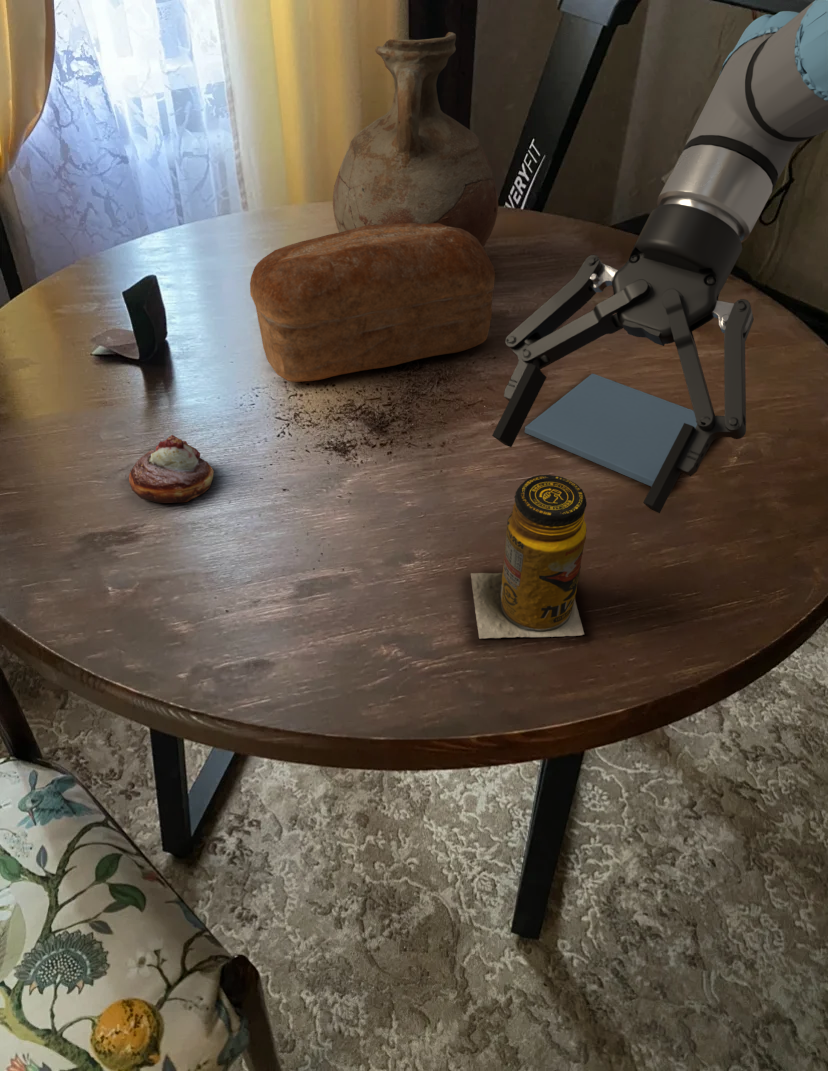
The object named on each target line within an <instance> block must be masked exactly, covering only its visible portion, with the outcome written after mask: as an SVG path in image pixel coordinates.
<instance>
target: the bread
mask: <svg viewBox="0 0 828 1071" xmlns="http://www.w3.org/2000/svg"><path fill="white" fill-rule="evenodd" d="M495 277H496V272H495V267H494V265H493V263H492V261H491V260H490V257H489V256H488V253H487V252H486V250H485V248H484V247H482V245H481V244H480V242H479V241H478V239H477V238H476V237H474V236H473V235H471V234H470V233H469V232H467V231H465V230H463V229H461V228H455V227H449V226H445V225H442V224H439V223H432V224H418V223H406V224H390V225H366V226H362V227H358V228H354V229H351V230H347V231H344V232H340V233H339V232H335V233H331V234H326V235H322V236H319V237H314V238H311V239H306V240H302V241H298V242H295V243H291V244H288V245H285V246H283V247H279V248H276V249H274V250H273V251H271V252H270V253H269V254H267V255H266V256H264V257H263V258H261V259H260V260H259V261H258V262H257V263H256V265H254V268H253V271H252V274H251V276H250V281H249V291H250V292H249V293H250V295H249V296H250V297H251V299H252V301H253V303H254V307H255V311H256V317H257V321H258V322H257V323H258V326H259V331H260V336H261V342H262V343H261V344H262V348H263V351H264V354H265V357H266V360H267V362H268V364H269V365H270V366H271V368H272V369H273V370H274V372H275V373H276V375H278V376H279V377H281V378H282V379H284V380H286V381H287V382H293V383H299V382H301V383H302V382H313V381H314V382H315V381H320V380H326V379H328V378H332V377H337V376H341V375H346V374H352V373H356V372H362V371H368V370H373V369H374V370H375V369H382V368H388V367H394V366H397V365H401V364H405V363H409V362H414V361H417V360H422V359H427V358H431V357H436V356H443V355H451V354H456V353H460V352H463V351H468V350H470V349H473V348H475V347H478V346H479V345H481V344H483V343H484V342H485V341H486V340H487V339H488V336H489V330H490V326H491V321H492V316H493V296H494V288H495Z"/></svg>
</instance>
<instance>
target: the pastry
mask: <svg viewBox="0 0 828 1071" xmlns="http://www.w3.org/2000/svg"><path fill="white" fill-rule="evenodd" d="M214 472H215V471H214V469H213V468H212V466H211V465H210V464H209V462H208V461H207V460H205V459H203V458H202V457H201V452H200V451H199V450H198V449H197V448H196V447H193V446H191V445H190V444H189V443H188V442H187V441H186V440H183V439H181V438H178V437H177V436H175V435H174V434H171V435H170V436H168V437H167V438H166V439H165V440H163V441H161V440H160V441H159V443H158V445H156V447H155V449H152V450H149V451H147V452H146V453H145V454H144V455H142V456H141V457H139V459H138V460H137V461H136V462H135V463H134V466H133V467H132V469H131V470H130V472H129V474H128V482H129V485H130V488H131V491H132V492H133V493H134V494H135V495H136V496H138V497H139V499H141V500H145V501H150V502H154V503H158V504H174V503H176V504H177V503H187V502H190V501H191V500H193V499H195V498H197V497H199V496H201V495H202V494H205V492H206V491H207V490H209V489H210V488H211V486H212V482H213V480H214Z"/></svg>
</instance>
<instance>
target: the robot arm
mask: <svg viewBox="0 0 828 1071" xmlns="http://www.w3.org/2000/svg"><path fill="white" fill-rule="evenodd" d="M718 75H719V77H718V79H717V81H716V82H715V85H714V87H713V88H712V90H711V92H710V94H709V97H708V99H707V100H706V102H705V105H704V107H703V108H702V111H701V113H700V114H699V116H698V119H697V121H696V123H695V125H694V126H693V129H692V130H691V133H690V135H689V136H688V138H687V141H686V143H685V145H684V146H683V147H684V148H683V149H682V151H681V153H680V155H679V157H678V159H677V160H676V163H675V165H674V167H673V168H672V170H671V172H670V174H669V176H668V178H667V180H666V182H665V183H664V185H663V187H662V189H661V191H660V194H659V195H658V196H657V200H656V204H657V205H656V206H657V207H655V208H654V209H652V210H651V211H650V214H649V216H648V218H647V220H646V221H645V224H644V225H643V228H642V230H641V231H640V233H639V235H638V236H637V239H636V242H634V245H633V247H632V250H631V252H630V255H629V257H628V260H627V261H626V263H625V264H624V265H622V266H621V267H620V268H619V269H616V268H614V267H612V266H610V265H607V264H606V263H603V262H602V261H601V259H600V258H599V256H598V255H597V254H589V255H587V257H586V258H585V259H584V261H583V263H582V264H581V266H580V267H579V269H578V270H577V272H576V273H575V275H574V277H573V278H572V279H570V280H569V281H568V282H567V283H566V284H564V286H562V287H561V288H560V289H559V290H558V291H557V292H555V293H554V294H553V295H552V296H551V297H550V298H549V299H547V301H545V302H544V303H543V304H542V305H541V306H539V307H538V308H537V309H536V310H535V311H533V313H532V314H530V315H529V316H528V317H527V318H526V319H525V320H524V321H523V322H521V323H520V324H519V325H518V326H517V327H515V329H513V330H512V331H511V332H510V333H509V334H508V335H507V336H506V337H505V345H506V346H507V347H508V348H509V349H510V350H511V352H512V353H514V354H515V355H516V356H517V364H516V367H515V368H514V370H513V372H512V374H511V377H510V379H509V381H508V382H507V385H506V386H505V389H504V392H503V397H504V399H506V400H507V401H508V402H507V404H506V407H505V408H504V411H503V413H502V415H501V417H500V419H499V420H498V423H497V425H496V427H495V429H494V430H493V433H492V435H491V436H492V437H493V438H495V440H497V441H498V442H500V443H501V444H502V445H504V446H506V447H509V448H512V447H513V445H514V443H515V441H516V439H517V437H518V435H519V434H520V431H521V429H522V427H523V426H524V423H525V421H526V419H527V417H528V415H529V413H530V412H531V409H532V408H533V406H534V404H535V401H536V399H537V397H538V396H539V393H540V391H541V390H542V387H543V385H544V383H545V381H546V380H547V376H546V374H544V373H543V372H542V371H541V370H542V369H544V368H547V367H548V366H550V365H552V364H553V363H555V362H557V361H559V360H561V359H563V358H564V357H566V356H568V355H570V354H572V353H573V352H576V351H578V350H579V349H581V348H583V347H585V346H587V345H589V344H591V343H592V342H594V341H596V340H597V339H600V338H601V337H603V336H605V335H612V334H615V333H617V332H618V331H620V330H622V329H624V331H626V333H627V335H629V336H633V337H635V338H646V339H648V340H650V341H651V342H653V343H654V344H656V345H658V346H662V347H664V346H665V345H669V344H673V343H674V344H675V348H676V350H677V354H678V358H679V362H680V366H681V370H682V373H683V376H684V380H685V384H686V388H687V391H688V395H689V399H690V402H691V405H692V410H693V411H694V414H695V417H696V423H697V426H696V427H695V428H694V426H691V425H689V424H686V423H684V424H683V426H682V428H681V430H680V432H679V434H678V436H677V438H676V440H675V442H674V444H673V446H672V448H671V450H670V452H669V454H668V455H667V457H666V459H665V461H664V463H663V465H662V467H661V469H660V471H659V473H658V475H657V477H656V479H655V481H654V483H653V485H652V486H650V488H649V491H648V492H647V493H646V495H645V496H646V497H645V498H644V500H643V502H642V503H643V504H644V505H645V506H646V507H647V508H648V509H649V510H651V511H653V512H655V513H657V514H661V512H662V510H663V508H664V506H665V504H666V502H667V500H668V498H669V496H670V495H671V493H672V491H673V489H674V487H675V485H676V484H677V481H678V479H679V477H680V475H681V474H682V475H683V474H684V475H686V476H688V477H693V475H694V474H695V473H697V471H698V470H699V467H700V466H701V465H702V464H701V463H702V462H703V460H704V458H705V456H706V454H707V452H708V450H709V448H710V446H711V444H712V443H713V442H714V440H717V439H719V438H732V439H733V440H739V439H742V438H743V437H745V435H746V432H747V398H746V397H747V396H746V395H747V391H746V390H747V384H746V381H747V380H746V379H747V378H746V341H747V340H748V339H747V338H748V336H749V334H750V331H751V328H752V325H753V323H754V315H753V309H752V306H751V303H750V301H749V300H748V299H745V298H740V299H738V300H736V301H735V302H730V301H725V300H724V301H723V300H719V296H720V294H721V291H723V289H724V286H725V285H726V282H727V281H728V279H729V277H730V275H731V272H732V271H733V269H734V267H735V265H736V263H737V261H738V259H739V258H740V256H741V253H742V251H743V244H742V243H744V242H745V241H747V240H748V238H750V234H751V233H752V231H753V229H754V227H755V226H756V223H757V222H758V220H759V217H760V216H761V214H762V211H763V210H764V208H765V206H766V204H767V202H768V200H769V198H770V197H771V195H772V192H774V189H775V187H776V186H777V182H778V180H779V179H780V177H781V175H782V172H783V171H784V170H785V167H786V165H787V163H788V162H789V160H790V158H791V156H792V154H793V152H794V150H795V149H796V148H797V146H798V145H800V144H802V143H803V142H805V141H808V140H810V139H812V138H814V137H816V136H818V135H822V134H823V133H824V132H827V130H828V0H813V1H812V2H811V3H810V4H808V5H807V6H806V7H805V8H804V9H803V10H801V11H800V12H798V11H792V10H791V11H790V10H783V11H779V12H777V13H776V14H774V15H772V14H763V15H761V16H759V17H757V18H755V19H754V20H753V21H751V23H750V24H748V26H747V27H746V28H745V30H743V32H742V34H741V36H740V38H739V40H738V41H737V43H736V44H735V46H734V48H733V49H732V51H730V52H729V54H728V55H727V57H726V58H725V60H724V62H723V64H722V68H721V70H720V71H719V74H718ZM610 286H611V287H612V292H613V295H611V296H610V297H607V298H606V299H604V300H602V301H600V302H598V303H597V304H595V305H594V308H593V309H592V310H590V311H588V312H587V313H585V314H583V315H581V316H579V317H578V318H576V319H574V320H572V321H570V322H569V323H567V324H565V323H566V321H568V320H569V319H570V318H571V317H573V316H574V315H575V314H576V313H578V311H579V310H580V309H582V308H583V307H584V306H586V304H588V302H589V301H590V300H592V298H593V297H595V295H596V293H603V292H604V291H605V289H606V288H607V287H610ZM714 318H715V319H717V320H718V327H719V329H720V331H721V333H723V334H724V336H723V337H724V338H723V354H724V355H723V356H724V357H723V364H724V365H723V367H724V368H723V370H724V374H723V375H724V381H723V382H724V384H723V386H724V387H723V388H724V415H716V413H715V410H714V406H713V403H712V400H711V396H710V392H709V389H708V384H707V381H706V378H705V374H704V371H703V370H704V369H703V367H702V366H703V365H702V363H701V359H700V356H699V350H698V347H697V343H696V340H695V336H694V334H693V332H694V331H696V330H698V329H699V328H700V327H702V326H704V325H705V324H707V323H709V322H710V321H712V320H713V319H714ZM563 324H565V325H563ZM562 325H563V326H562Z"/></svg>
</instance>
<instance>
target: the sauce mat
mask: <svg viewBox="0 0 828 1071" xmlns="http://www.w3.org/2000/svg"><path fill="white" fill-rule="evenodd" d="M684 423H686V424H689V425H691V426H694V428H695V427H696V426H697V423H696V417H695V414H694V410H693V409H690V408H687V407H685V406H682V405H680V404H677V403H674V402H671V401H668V400H665V399H664V398H662V397H661V398H660V397H658V396H655V395H652V394H650V393H647V392H645V391H642V390H639V389H636V388H633V387H630V386H628V385H626V384H623V383H621V382H617V381H614V380H612V379H609V378H607V377H603V376H601V375H598V374H595V373H590V374H589V375H588V376H587V377H586V378H585V379H583V380H582V381H581V382H580V383H578V384H577V385H576V386H575V387H573V388H572V389H571V390H570V391H569V392H567V393H565V395H564V396H562V397H561V398H559V400H557V401H556V402H554V403H553V404H551V406H549V407H548V408H547V409H545V411H543V412H542V413H541V414H539V415H538V416H537V417H536V418H534V419H533V420H531V421H530V423H528V424H526V426H525V427H524V434H526V435H529V436H530V437H534V438H536V439H538V440H541V441H543V442H545V443H547V444H550V445H552V446H555V447H557V448H559V449H562V450H564V451H567V452H568V453H571V454H573V455H576V456H578V457H580V458H583V459H585V460H588V461H590V462H592V463H594V464H597V465H599V466H602V467H604V468H606V469H608V470H611V471H613V472H616V473H618V474H620V475H623V476H625V477H628V478H629V479H632V480H635V481H637V482H639V483H641V484H644V485H647V486H649V487H651V486H652V485H653V483H654V481H655V479H656V477H657V475H658V473H659V471H660V469H661V467H662V465H663V463H664V461H665V459H666V457H667V455H668V454H669V452H670V450H671V448H672V446H673V444H674V442H675V440H676V438H677V436H678V434H679V432H680V430H681V428H682V426H683V424H684Z"/></svg>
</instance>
